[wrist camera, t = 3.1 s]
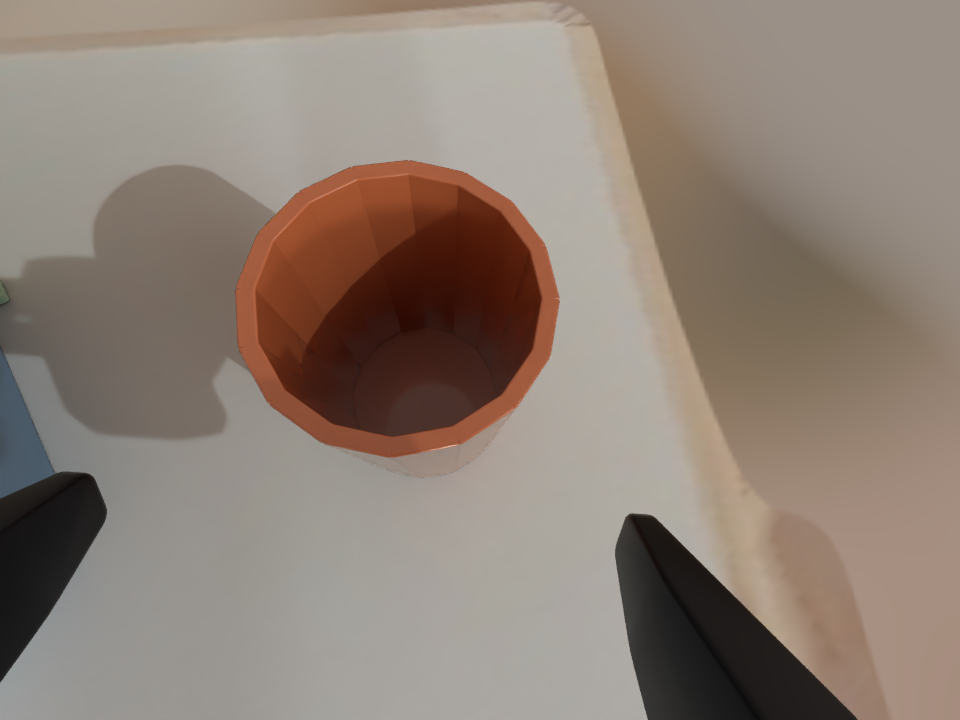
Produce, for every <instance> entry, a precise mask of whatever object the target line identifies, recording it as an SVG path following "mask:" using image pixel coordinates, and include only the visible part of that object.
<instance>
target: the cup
mask: <svg viewBox="0 0 960 720" xmlns="http://www.w3.org/2000/svg"><path fill="white" fill-rule="evenodd" d="M235 296H236V317H237V338H238V348H239V352H240V354H241V355H242V357H243V359H244V361H245V363H246V365H247V366H248V368H249V370H250V372H251V374H252V376H253V377H254V379H255V381H256V383H257V385H258V387H259V388H260V390H261V392H262V394H263V396H264V398H265V399H266V401H267V403H269V404H270V406H271V407H272V408H274V409H275V410H277V411H278V412H279V413H281V414H282V415H283V416H285V417H286V418H288V419H289V420H290V421H292V422H293V423H294V424H296V425H297V426H299V427H300V428H301V429H303V430H304V431H305V432H307V433H308V434H310V435H311V436H312V437H314V438H315V439H316V440H318V441H319V442H321V443H323V444H325V445H328V446H330V447H333V448H335V449H337V450H340V451H342V452H345V453H347V454H350V455H352V456H354V457H357V458H359V459H362V460H364V461H367V462H369V463H371V464H374V465H376V466H379V467H381V468H384V469H386V470H388V471H391V472H396V473H401V474H404V475H409V476H415V477H419V478H421V477H422V478H424V477H430V476H438V475H442V474H446V473H450V472H454V471H456V470H458V469H459V468H461V467H462V466H464V465H466V464H468V463H469V462H470V461H472V460H473V459H474V458H476V457H477V456H479V455H480V454H481V453H482V452H483V451H484V450H485V449H486V447H487V446H488V445H489V443H490V442H491V441H492V439H493V438H494V437H495V435H496V434H497V433H498V432H499V430H500V429H501V428H502V426H503V425H504V424H505V422H506V421H507V420H508V419H509V417H510V416H511V415H512V413H513V412H514V411H515V409H516V408H517V407H518V405H519V404H520V402H521V401H522V399H523V398H524V396H525V395H526V393H527V392H528V390H529V389H530V387H531V386H532V384H533V383H534V381H535V380H536V378H537V377H538V375H539V373H540V372H541V370H542V369H543V367H544V366H545V364H546V363H547V361H548V360H549V357H550V355H551V351H552V345H553V339H554V333H555V327H556V321H557V315H558V309H559V303H560V301H559V294H558V290H557V286H556V282H555V278H554V274H553V271H552V267H551V263H550V259H549V255H548V251H547V248H546V246H545V243H544V242H543V241H542V239H541V238H540V237H539V236H538V234H537V233H536V232H535V230H534V229H533V228H532V226H531V225H530V224H529V222H528V221H527V220H526V219H525V217H524V216H523V215H522V213H521V212H520V211H519V209H518V208H517V207H516V205H515V204H514V203H513V202H511V200H509V199H508V198H506V197H505V196H503V195H501V194H500V193H498V192H496V191H495V190H493V189H492V188H490V187H488V186H487V185H485V184H483V183H482V182H480V181H479V180H477V179H475V178H474V177H472V176H470V175H469V174H467V173H464V172H462V171H458V170H453V169H449V168H444V167H439V166H435V165H430V164H426V163H421V162H416V161H412V160H410V161H408V160H404V161H395V162H386V163H377V164H369V165H360V166H353V167H352V168H351V167H349V168H347V169H345V170H343V171H341V172H339V173H337V174H334V175H332V176H330V177H328V178H326V179H324V180H322V181H320V182H317V183H315V184H313V185H311V186H309V187H307V188H305V189H303V190H301V191H299V192H298V193H296V194H295V196H294V197H293V198H292V199H291V200H290V201H289V202H288V203H287V204H286V205H285V206H284V207H283V208H282V209H281V210H280V211H279V212H278V213H277V214H276V215H275V216H274V217H273V218H272V219H271V220H270V221H269V222H268V223H267V224H266V225H265V226H264V227H263V228H262V229H261V230H260V231H259V233H258V234H257V235H256V238H255V240H254V243H253V245H252V248H251V250H250V253H249V255H248V258H247V260H246V263H245V265H244V268H243V270H242V272H241V275H240V277H239V280H238V282H237V285H236V290H235Z"/></svg>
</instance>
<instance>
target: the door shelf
mask: <svg viewBox="0 0 960 720" xmlns="http://www.w3.org/2000/svg"><path fill="white" fill-rule="evenodd" d="M8 301H9V298H8V295H7V293H6V291H5V288H4V286H3V284H2V282H1V280H0V305H1V304H3V303H6V302H8ZM54 474H55V473H54V471H53V469H52V466H51V464H50V462H49V459H48V457H47V455H46V452H45V450H44V448H43V445H42V443H41V441H40V438H39V436H38V433H37V431H36V429H35V426H34V424H33V422H32V419H31V417H30V415H29V412H28V410H27V408H26V405H25V403H24V401H23V398H22V396H21V394H20V391H19V389H18V387H17V384H16V382H15V380H14V377H13V375H12V372H11V370H10V368H9V365H8V363H7V361H6V358H5V356H4V354H3V351H2V349H1V347H0V498H2V497H5V496H7V495H9V494H11V493H13V492H16V491H18V490H20V489H22V488H25V487H27V486H29V485H31V484H34V483H36V482H38V481H40V480H43V479H45V478H47V477H49V476H52V475H54Z"/></svg>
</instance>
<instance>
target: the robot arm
mask: <svg viewBox="0 0 960 720" xmlns="http://www.w3.org/2000/svg"><path fill="white" fill-rule="evenodd" d="M106 515H107V508H106V505H105V503H104V500H103V498H102V495H101V493H100V490H99V488H98V485H97V483H96V481H95V479H94V477H93V476H91V475H90V474H88V473H79V472H60V473H56V474H54V475H52V476H49V477H47V478H45V479H43V480H40V481H38V482H36V483H34V484H31V485H29V486H27V487H25V488H22V489H20V490H18V491H16V492H13V493H11V494H9V495H7V496H5V497H2V498H0V682H1V681H2V680H3V678H4V677H5V675H6V674H7V673H8V671H9V670H10V668H11V667H12V666H13V664H14V663H15V662H16V660H17V659H18V657H19V656H20V655H21V653H22V652H23V650H24V649H25V648H26V646H27V645H28V644H29V642H30V641H31V639H32V638H33V637H34V635H35V634H36V632H37V631H38V630H39V628H40V627H41V625H42V624H43V622H44V621H45V619H46V618H47V617H48V615H49V614H50V612H51V610H52V609H53V607H54V606H55V604H56V602H57V601H58V599H59V598H60V596H61V594H62V593H63V591H64V589H65V588H66V586H67V584H68V583H69V581H70V579H71V578H72V576H73V574H74V573H75V571H76V569H77V568H78V566H79V564H80V563H81V561H82V559H83V558H84V556H85V554H86V552H87V551H88V549H89V547H90V546H91V544H92V542H93V541H94V539H95V537H96V536H97V534H98V532H99V531H100V529H101V527H102V526H103V524H104V522H105V519H106ZM615 558H616V565H617V572H618V578H619V584H620V591H621V597H622V603H623V610H624V616H625V623H626V629H627V635H628V641H629V647H630V652H631V656H632V660H633V664H634V669H635V672H636V676H637V680H638V684H639V688H640V691H641V695H642V699H643V703H644V707H645V711H646V714H647V718H648V720H857V718H856V717H855V716H854V715H853V714H852V713H851V712H850V711H849V710H848V709H847V708H846V707H845V706H844V705H843V704H842V703H841V702H840V701H839V700H838V699H837V698H836V697H835V696H834V695H833V694H832V693H831V692H830V691H829V690H828V689H827V688H826V687H825V686H824V685H823V684H822V683H821V682H820V681H819V680H818V679H817V678H816V677H815V676H814V675H813V674H812V673H811V672H810V671H809V670H808V669H807V668H806V667H805V666H804V665H803V664H802V663H801V662H800V661H799V660H798V659H797V658H796V657H795V656H794V655H793V654H792V653H791V652H790V651H789V650H788V649H787V648H786V647H785V646H784V645H783V644H782V643H781V642H780V641H779V640H778V639H777V638H776V637H775V636H774V635H773V634H772V633H771V632H770V631H769V630H768V629H767V628H766V627H765V626H764V625H763V624H762V623H761V622H760V621H759V620H758V619H757V618H756V617H755V616H754V615H753V614H752V613H751V612H750V611H749V610H748V609H747V608H746V607H745V606H744V605H743V604H742V603H741V602H740V601H739V600H738V599H737V598H736V597H735V596H734V595H733V594H732V593H731V592H730V591H728V590H727V589H726V588H725V587H724V586H723V585H722V584H721V583H720V582H719V581H718V580H717V579H716V578H715V577H714V576H713V575H712V574H711V573H710V572H709V571H708V570H707V569H706V568H705V567H704V566H703V565H702V564H701V563H700V562H699V561H698V560H697V559H696V558H695V557H694V556H693V555H692V554H691V553H690V552H689V551H688V550H687V549H686V548H685V547H684V546H683V545H682V544H681V543H680V542H679V541H678V540H677V539H676V538H675V537H674V536H673V535H672V534H671V533H670V532H669V531H668V530H667V529H666V528H665V527H664V526H663V525H662V524H661V523H660V522H659V521H658V520H657V519H656V518H655V517H653V516H651V515H646V514H633V513H632V514H629V515H628V516H627V517H626V518H625V521H624V524H623V527H622V529H621V532H620V535H619V538H618V541H617V544H616V549H615Z"/></svg>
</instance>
